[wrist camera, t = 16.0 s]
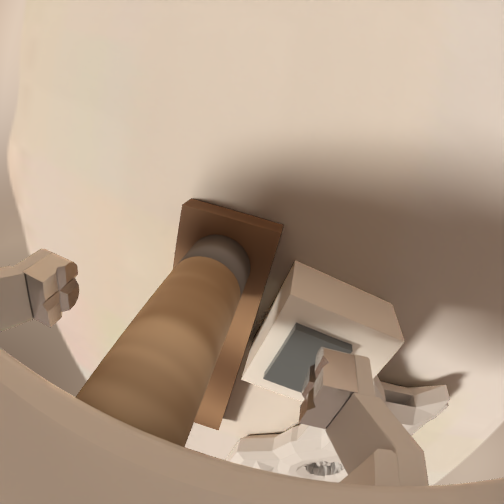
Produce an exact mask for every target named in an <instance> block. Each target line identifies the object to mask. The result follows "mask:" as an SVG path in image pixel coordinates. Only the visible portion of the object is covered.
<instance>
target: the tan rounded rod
mask: <svg viewBox="0 0 504 504" xmlns="http://www.w3.org/2000/svg"><path fill="white" fill-rule="evenodd" d="M249 274H250V260H249V257H248V255H247V253H246V251H245V250H244V248H243V247H242V246H241V245H240V244H239V243H238V242H236V241H235V240H233V239H231V238H229V237H227V236H223V235H208V236H205V237H203V238H201V239H199V240H198V241H197V242H196V243H195V244H194V245H193V246H192V247H191V249H190V250H189V251H188V252H187V253H186V255H185V256H184V257H183V258H182V259H181V261H180V262H179V263H178V264H177V266H176V267H175V268H174V269H173V270H172V272H171V273H170V274H169V275H168V277H167V278H166V279H165V280H164V281H163V283H162V284H161V285H160V286H159V288H158V289H157V290H156V291H155V293H154V294H153V295H152V296H151V298H150V299H149V300H148V301H147V303H146V304H145V305H144V307H143V308H142V309H141V310H140V312H139V313H138V314H137V315H136V317H135V318H134V319H133V321H132V322H131V323H130V324H129V326H128V327H127V328H126V330H125V331H124V332H123V334H122V335H121V336H120V338H119V339H118V340H117V341H116V343H115V344H114V345H113V347H112V348H111V349H110V351H109V352H108V353H107V355H106V356H105V357H104V359H103V360H102V361H101V363H100V364H99V365H98V367H97V368H96V370H95V371H94V372H93V374H92V375H91V376H90V378H89V379H88V381H87V382H86V383H85V385H84V386H83V387H82V389H81V390H80V392H79V393H78V394H77V396H76V398H77V399H79V400H81V401H83V402H85V403H86V404H88V405H90V406H92V407H94V408H96V409H98V410H100V411H102V412H104V413H106V414H108V415H110V416H112V417H114V418H116V419H118V420H120V421H122V422H124V423H126V424H128V425H131V426H133V427H135V428H137V429H140V430H142V431H144V432H147V433H149V434H152V435H154V436H156V437H159V438H161V439H164V440H167V441H169V442H172V443H174V444H177V445H180V446H183V447H185V444H186V441H187V439H188V436H189V433H190V431H191V428H192V426H193V423H194V420H195V418H196V415H197V412H198V410H199V407H200V404H201V402H202V399H203V397H204V394H205V391H206V389H207V386H208V383H209V381H210V378H211V375H212V373H213V370H214V367H215V365H216V362H217V359H218V357H219V354H220V351H221V349H222V346H223V343H224V341H225V338H226V335H227V333H228V330H229V327H230V325H231V322H232V319H233V317H234V314H235V311H236V309H237V306H238V303H239V301H240V298H241V295H242V293H243V290H244V287H245V285H246V282H247V279H248V277H249Z"/></svg>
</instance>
